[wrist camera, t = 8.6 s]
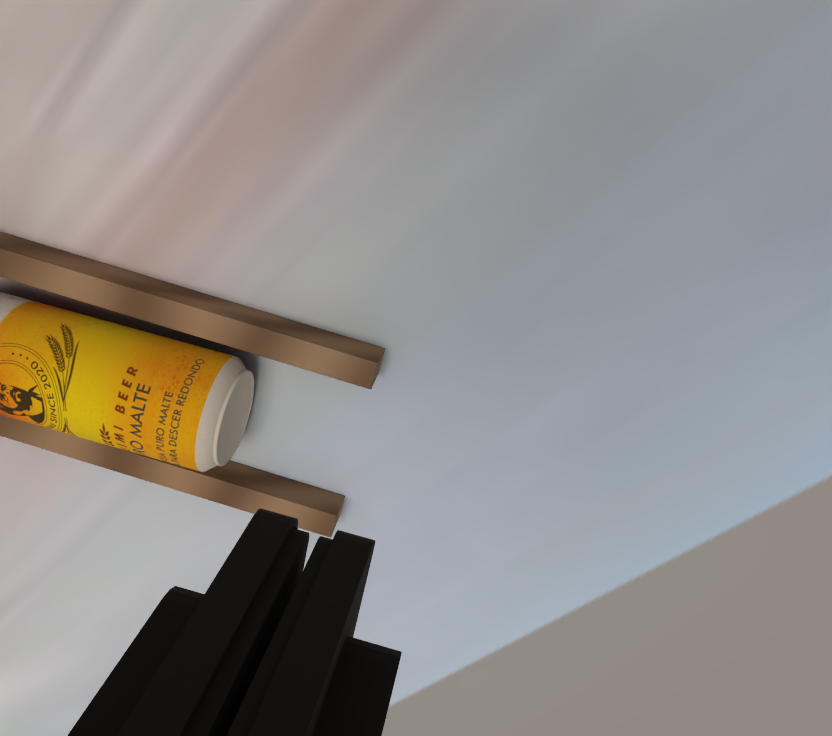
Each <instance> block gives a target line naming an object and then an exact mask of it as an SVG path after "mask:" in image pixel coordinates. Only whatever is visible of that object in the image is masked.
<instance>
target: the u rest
mask: <svg viewBox="0 0 832 736" xmlns="http://www.w3.org/2000/svg"><path fill="white" fill-rule="evenodd" d="M0 277H3V278H6V279H10V280H13V281H16V282H20V283H23V284H26V285H29V286H33V287H36V288H39V289H43V290H46V291H49V292H52V293H56V294H59V295H62V296H66V297H69V298H72V299H75V300H79V301H82V302H85V303H89V304H92V305H95V306H98V307H102V308H105V309H108V310H112V311H115V312H118V313H121V314H125V315H128V316H131V317H135V318H138V319H141V320H144V321H148V322H151V323H154V324H158V325H161V326H164V327H167V328H171V329H174V330H177V331H181V332H184V333H187V334H190V335H194V336H197V337H200V338H204V339H207V340H210V341H213V342H217V343H220V344H223V345H227V346H230V347H233V348H236V349H240V350H243V351H246V352H250V353H253V354H256V355H259V356H263V357H266V358H269V359H273V360H276V361H279V362H282V363H286V364H289V365H292V366H296V367H299V368H302V369H305V370H309V371H312V372H315V373H319V374H322V375H325V376H328V377H332V378H335V379H338V380H342V381H345V382H348V383H351V384H355V385H358V386H361V387H365V388H368V389H371V388H372V386H373V384H374V382H375V380H376V377H377V375H378V372H379V369H380V365H381V361H382V358H383V354H384V350H385V348H381V347H378V346H375V345H371V344H368V343H365V342H362V341H358V340H355V339H352V338H348V337H345V336H342V335H338V334H335V333H332V332H329V331H325V330H322V329H319V328H315V327H312V326H309V325H306V324H302V323H299V322H296V321H292V320H289V319H286V318H282V317H279V316H276V315H273V314H269V313H266V312H263V311H259V310H256V309H253V308H249V307H246V306H243V305H240V304H236V303H233V302H230V301H226V300H223V299H220V298H216V297H213V296H210V295H207V294H203V293H200V292H197V291H193V290H190V289H187V288H184V287H180V286H177V285H174V284H170V283H167V282H164V281H160V280H157V279H154V278H151V277H147V276H144V275H141V274H137V273H134V272H131V271H127V270H124V269H121V268H118V267H114V266H111V265H108V264H104V263H101V262H98V261H95V260H91V259H88V258H85V257H81V256H78V255H75V254H71V253H68V252H65V251H62V250H58V249H55V248H52V247H48V246H45V245H42V244H38V243H35V242H32V241H29V240H25V239H22V238H19V237H15V236H12V235H9V234H5V233H2V232H0ZM0 436H3V437H6V438H10V439H13V440H16V441H19V442H23V443H26V444H29V445H32V446H36V447H39V448H42V449H45V450H49V451H52V452H55V453H58V454H62V455H65V456H68V457H71V458H75V459H78V460H81V461H84V462H88V463H91V464H94V465H97V466H101V467H104V468H107V469H110V470H114V471H117V472H120V473H123V474H126V475H130V476H133V477H136V478H139V479H143V480H146V481H149V482H152V483H156V484H159V485H162V486H165V487H169V488H172V489H175V490H178V491H182V492H185V493H188V494H191V495H195V496H198V497H201V498H204V499H208V500H211V501H214V502H217V503H221V504H224V505H227V506H230V507H234V508H237V509H240V510H243V511H247V512H250V513H253V514H255V513H256V512H257V510H258V509H260V508H262V509H265V510H269V511H272V512H276V513H279V514H283V515H286V516H290V517H293V518H297V519H298V528H302V529H305V530H308V531H311V532H315V533H318V534H321V535H324V536H328V537H331V536H332V533H333V531H334V528H335V526H336V523H337V521H338V518H339V515H340V512H341V508H342V504H343V501H344V497H345V496H343V495H339V494H336V493H333V492H330V491H326V490H323V489H320V488H317V487H313V486H310V485H307V484H304V483H300V482H297V481H294V480H291V479H287V478H284V477H281V476H277V475H274V474H271V473H268V472H264V471H261V470H258V469H255V468H251V467H248V466H245V465H242V464H238V463H235V462H232V461H228V462H227V463H226V464H225V465H224V466H218V465H217V466H215V467H213V468H211V469H209V470H207V471H205V472H200V471H197V470H193V469H190V468H186V467H183V466H179V465H176V464H172V463H168V462H165V461H161V460H158V459H154V458H151V457H147V456H144V455H140V454H137V453H133V452H129V451H126V450H122V449H119V448H115V447H112V446H108V445H105V444H101V443H98V442H94V441H90V440H87V439H83V438H80V437H76V436H73V435H69V434H66V433H62V432H59V431H55V430H51V429H48V428H44V427H41V426H37V425H34V424H30V423H27V422H23V421H19V420H16V419H12V418H9V417H5V416H2V415H0Z"/></svg>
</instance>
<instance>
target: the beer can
mask: <svg viewBox="0 0 832 736" xmlns="http://www.w3.org/2000/svg"><path fill="white" fill-rule="evenodd" d="M253 394H254V377H253V374H252V372H251V371H249V370H247V369H246V368H245V366H244V364H243V363H242V361H241V360H240V358H239V357H236V356H233V355H229V354H225V353H222V352H218V351H215V350H211V349H207V348H204V347H200V346H196V345H193V344H189V343H185V342H182V341H178V340H174V339H171V338H167V337H163V336H160V335H156V334H152V333H149V332H145V331H142V330H138V329H134V328H131V327H127V326H123V325H120V324H116V323H112V322H109V321H105V320H101V319H98V318H94V317H90V316H87V315H83V314H80V313H76V312H72V311H69V310H65V309H61V308H58V307H54V306H50V305H47V304H43V303H39V302H36V301H32V300H28V299H25V298H21V297H18V296H14V295H10V294H7V293H3V292H0V415H2V416H5V417H9V418H12V419H16V420H19V421H23V422H27V423H30V424H34V425H37V426H41V427H44V428H48V429H51V430H55V431H59V432H62V433H66V434H69V435H73V436H76V437H80V438H83V439H87V440H90V441H94V442H98V443H101V444H105V445H108V446H112V447H115V448H119V449H122V450H126V451H129V452H133V453H137V454H140V455H144V456H147V457H151V458H154V459H158V460H161V461H165V462H168V463H172V464H176V465H179V466H183V467H186V468H190V469H193V470H197V471H200V472H205V471H207V470H209V469H211V468H213V467H215V466H217V465H218V466H224V465H225V464H226V463H227V462H228V461H229V460H230V459H231V457H232V456H233V454H234V453H235V451H236V449H237V447H238V445H239V443H240V441H241V438H242V436H243V433H244V431H245V428H246V425H247V422H248V418H249V414H250V410H251V406H252V401H253Z"/></svg>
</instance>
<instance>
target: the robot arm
mask: <svg viewBox="0 0 832 736" xmlns="http://www.w3.org/2000/svg"><path fill="white" fill-rule="evenodd" d="M297 529H298V519H297V518H293V517H290V516H286V515H283V514H279V513H276V512H272V511H269V510H265V509H262V508H260V509H258V510H257V512H256V513H255V514H254V516H253V518H252V519H251V521H250V522H249V524H248V526H247V527H246V529H245V530H244V532H243V534H242V535H241V537H240V539H239V540H238V542H237V543H236V545H235V547H234V548H233V550H232V551H231V553H230V555H229V556H228V558H227V559H226V561H225V563H224V564H223V566H222V567H221V569H220V571H219V572H218V574H217V575H216V577H215V579H214V580H213V582H212V583H211V585H210V587H209V588H208V590H207V592H206V593H205V594H201V593H198V592H194V591H191V590H187V589H184V588H181V587H177V586H175V587H173V588H172V589H170V590H169V591H168V592H167V594H166V595H165V596H164V597H163V599H162V600H161V602H160V603H159V604H158V606H157V607H156V609H155V610H154V612H153V613H152V614H151V616H150V617H149V619H148V620H147V622H146V623H145V625H144V626H143V627H142V629H141V630H140V632H139V633H138V635H137V636H136V638H135V639H134V640H133V642H132V643H131V645H130V646H129V648H128V649H127V651H126V652H125V653H124V655H123V656H122V658H121V659H120V661H119V662H118V664H117V665H116V666H115V668H114V669H113V671H112V672H111V674H110V675H109V677H108V678H107V679H106V681H105V682H104V684H103V685H102V687H101V688H100V690H99V691H98V692H97V694H96V695H95V697H94V698H93V700H92V701H91V703H90V704H89V705H88V707H87V708H86V710H85V711H84V713H83V714H82V716H81V717H80V718H79V720H78V721H77V723H76V724H75V726H74V727H73V729H72V730H71V731H70V733H69V734H68V736H381V735H382V730H383V727H384V723H385V719H386V715H387V710H388V706H389V702H390V698H391V694H392V690H393V686H394V682H395V678H396V674H397V670H398V665H399V661H400V657H401V652H400V651H397V650H393V649H390V648H386V647H383V646H380V645H376V644H373V643H369V642H366V641H362V640H359V639H356V638H353V635H354V630H355V626H356V622H357V618H358V614H359V609H360V605H361V601H362V597H363V592H364V588H365V584H366V580H367V576H368V571H369V567H370V563H371V559H372V554H373V550H374V546H375V540H371V539H368V538H364V537H361V536H357V535H354V534H350V533H347V532H343V531H339V530H338V531H337V532H336V534H335V536H334V538H333V540H332V539H329V538H325V537H322V536H320V537H319V539H318V541H317V543H316V545H315V547H314V549H313V551H312V553H311V556H310V558H309V560H308V562H307V564H306V566H305V568H304V562H305V557H306V552H307V547H308V541H309V533H307V532H304V531H300V530H297ZM303 568H304V571H303Z"/></svg>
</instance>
